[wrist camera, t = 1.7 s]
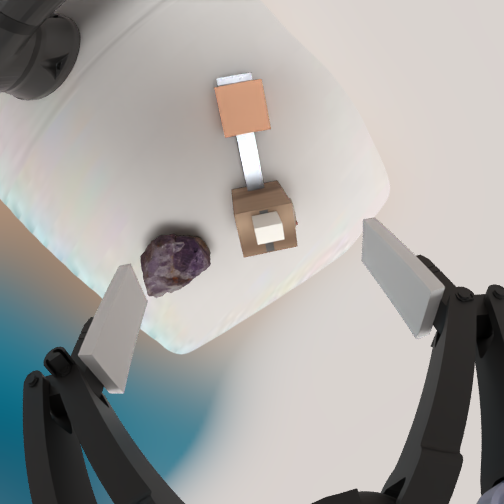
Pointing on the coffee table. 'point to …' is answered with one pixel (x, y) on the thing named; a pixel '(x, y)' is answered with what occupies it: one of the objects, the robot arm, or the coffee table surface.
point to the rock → (173, 263)
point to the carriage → (242, 108)
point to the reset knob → (268, 227)
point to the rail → (246, 143)
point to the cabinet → (262, 203)
